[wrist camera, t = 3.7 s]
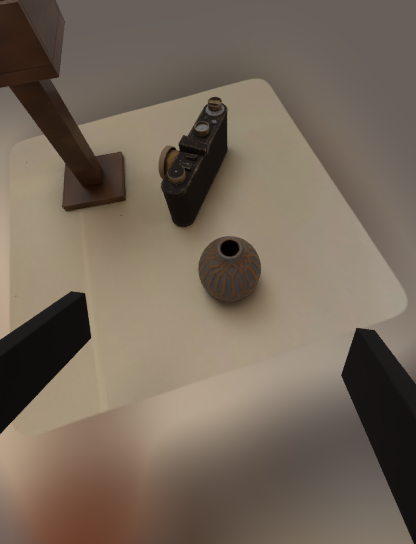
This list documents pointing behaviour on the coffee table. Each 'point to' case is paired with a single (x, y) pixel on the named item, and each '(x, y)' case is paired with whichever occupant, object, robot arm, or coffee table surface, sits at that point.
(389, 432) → the robot arm
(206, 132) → the camera
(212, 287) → the vase
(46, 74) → the square pedestal box
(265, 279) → the coffee table surface
